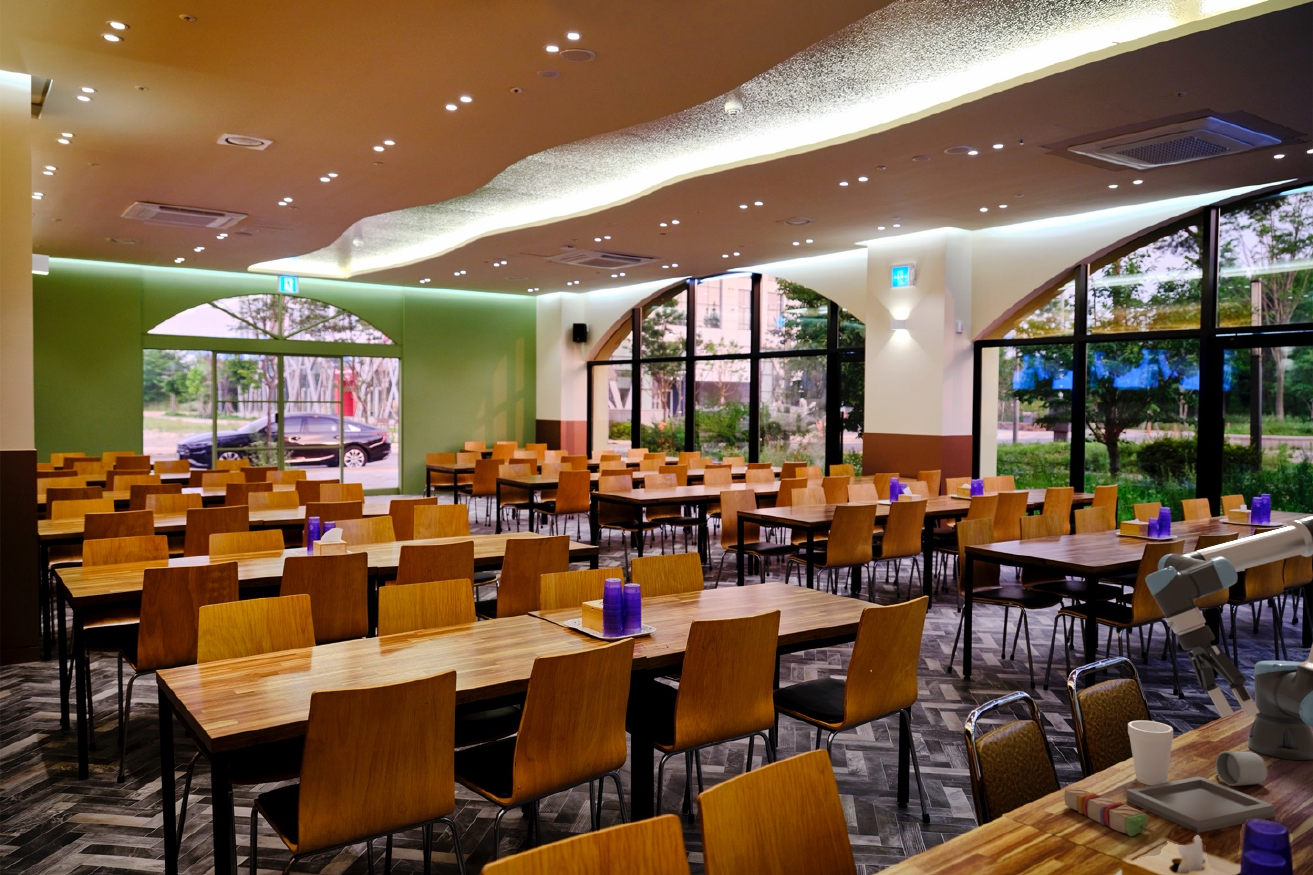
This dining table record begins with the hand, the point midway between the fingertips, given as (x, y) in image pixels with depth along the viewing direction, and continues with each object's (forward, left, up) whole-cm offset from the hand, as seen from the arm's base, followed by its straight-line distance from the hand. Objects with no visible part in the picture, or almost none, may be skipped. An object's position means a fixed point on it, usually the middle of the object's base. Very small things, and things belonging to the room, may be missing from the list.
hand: (1240, 715), depth 213 cm
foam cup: (+17, -10, -17) cm, 26 cm away
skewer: (+45, +5, -17) cm, 48 cm away
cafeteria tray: (+21, +6, -16) cm, 27 cm away
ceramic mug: (-1, -2, -17) cm, 17 cm away
